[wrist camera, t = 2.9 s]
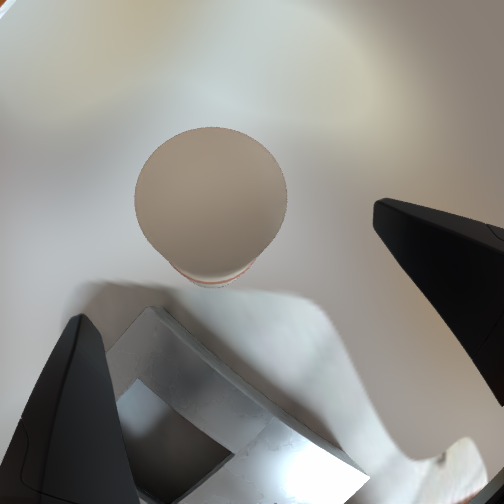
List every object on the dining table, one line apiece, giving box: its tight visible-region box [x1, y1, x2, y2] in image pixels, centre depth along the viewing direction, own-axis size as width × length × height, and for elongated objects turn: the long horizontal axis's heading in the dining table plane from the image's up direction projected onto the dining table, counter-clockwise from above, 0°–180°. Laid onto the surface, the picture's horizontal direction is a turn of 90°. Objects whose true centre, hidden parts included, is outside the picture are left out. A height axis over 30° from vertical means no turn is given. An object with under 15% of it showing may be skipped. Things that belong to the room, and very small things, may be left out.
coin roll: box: [135, 127, 287, 288], centre depth 13 cm, size 4×4×10 cm
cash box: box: [105, 306, 370, 504], centre depth 14 cm, size 16×12×4 cm
